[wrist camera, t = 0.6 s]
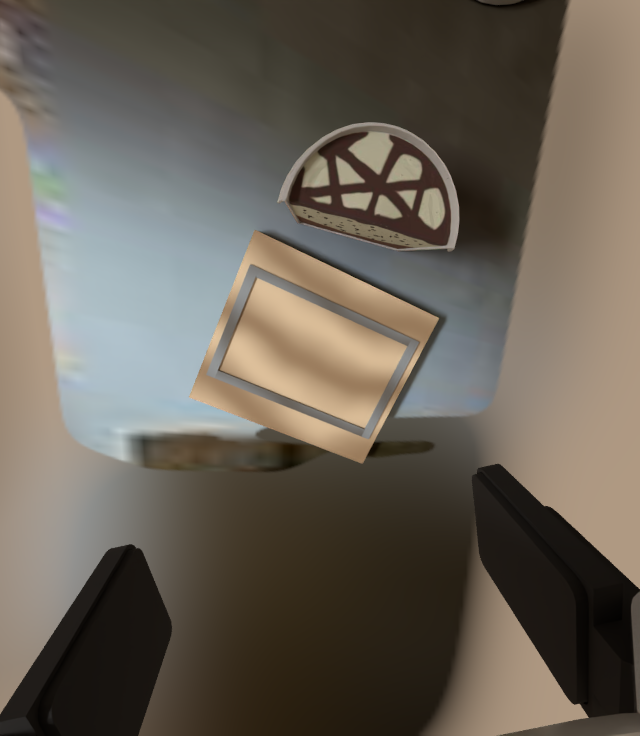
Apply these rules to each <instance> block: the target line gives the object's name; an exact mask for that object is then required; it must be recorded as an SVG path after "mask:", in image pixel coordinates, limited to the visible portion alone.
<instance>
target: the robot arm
mask: <svg viewBox="0 0 640 736" xmlns="http://www.w3.org/2000/svg"><path fill="white" fill-rule="evenodd" d="M478 1H480V2H482V3H488V4H493V5H506V4H514V3H517V2H520V1H523V0H478ZM472 486H473V496H474V505H475V516H476V526H477V536H478V547H479V554H480V558H481V561H482V563H483V565H484V567H485V569H486V570H487V572H488V573H489V575H490V576H491V578H492V580H493V581H494V583H495V584H496V586H497V587H498V589H499V591H500V592H501V594H502V595H503V597H504V598H505V600H506V602H507V603H508V605H509V606H510V608H511V610H512V611H513V613H514V614H515V616H516V618H517V619H518V621H519V622H520V624H521V625H522V627H523V629H524V630H525V632H526V633H527V635H528V636H529V638H530V640H531V641H532V643H533V644H534V646H535V647H536V649H537V651H538V652H539V654H540V655H541V657H542V659H543V660H544V662H545V663H546V665H547V666H548V668H549V670H550V671H551V673H552V674H553V676H554V677H555V679H556V681H557V682H558V684H559V685H560V687H561V688H562V690H563V692H564V693H565V695H566V696H567V698H568V699H569V700H570V701H571V702H572V703H573V704H574V705H575V704H580V705H581V706H582V708H583V709H584V711H585V712H586V714H587V715H588V717H589V718H585V719H579V720H573V721H568V722H564V723H559V724H553V725H548V726H544V727H538V728H533V729H529V730H523V731H518V732H513V733H508V734H503V735H499V736H640V589H639V588H638V587H636V586H635V585H634V584H633V583H632V582H631V581H630V580H629V579H628V578H627V577H626V576H625V575H624V574H623V573H622V572H621V571H619V570H618V569H617V568H616V567H615V566H614V565H613V564H612V563H611V562H610V561H609V560H608V559H607V558H606V557H604V556H603V555H602V554H601V553H600V552H599V551H598V550H597V549H596V548H595V547H594V546H593V545H592V544H591V543H590V542H588V541H587V540H586V539H585V538H584V537H583V536H582V535H581V534H580V533H579V532H578V531H577V530H576V529H575V528H573V527H572V526H571V525H570V524H569V523H568V522H567V521H566V520H565V519H564V518H563V517H562V516H561V515H560V514H559V513H557V512H556V511H555V510H554V509H552V508H551V507H548V506H543V505H542V504H541V503H540V502H539V501H538V500H537V499H536V498H535V497H534V496H533V495H532V494H531V493H530V492H529V491H528V490H527V489H526V488H525V487H523V486H522V485H521V484H520V483H519V482H518V481H517V480H516V479H515V478H514V477H513V476H512V475H511V474H510V473H509V472H508V471H507V470H506V469H505V468H504V467H503V466H501V465H500V464H495V465H490V466H486V467H481V468H478V470H477V474H475V475H473V476H472ZM171 632H172V625H171V620H170V617H169V615H168V613H167V610H166V608H165V605H164V603H163V600H162V598H161V595H160V593H159V591H158V588H157V586H156V583H155V581H154V578H153V576H152V574H151V571H150V569H149V566H148V564H147V562H146V559H145V557H144V554H143V552H142V550H141V549H139V548H137V549H136V547H135V546H134V545H131V544H129V545H125V546H121V547H116V548H111V549H109V550H108V551H107V552H106V553H105V555H104V556H103V558H102V559H101V561H100V562H99V564H98V565H97V567H96V569H95V570H94V572H93V573H92V575H91V576H90V578H89V579H88V581H87V582H86V584H85V585H84V587H83V588H82V590H81V592H80V593H79V594H78V596H77V598H76V599H75V601H74V602H73V604H72V605H71V607H70V608H69V610H68V611H67V613H66V614H65V616H64V617H63V619H62V621H61V622H60V624H59V625H58V627H57V628H56V630H55V631H54V633H53V634H52V636H51V637H50V639H49V640H48V642H47V644H46V645H45V646H44V649H43V650H42V651H41V653H40V655H39V656H38V657H37V659H36V660H35V662H34V663H33V665H32V666H31V668H30V669H29V671H28V673H27V674H26V676H25V677H24V679H23V680H22V682H21V683H20V685H19V686H18V688H17V689H16V691H15V693H14V694H13V696H12V697H11V699H10V700H9V702H8V703H7V705H6V706H5V708H4V709H3V711H2V712H1V714H0V736H138V734H139V731H140V728H141V725H142V722H143V719H144V716H145V713H146V710H147V707H148V704H149V701H150V698H151V695H152V692H153V689H154V686H155V683H156V680H157V677H158V674H159V671H160V668H161V665H162V662H163V659H164V656H165V653H166V649H167V646H168V644H169V641H170V637H171Z"/></svg>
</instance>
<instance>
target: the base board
mask: <svg viewBox="0 0 640 736" xmlns="http://www.w3.org/2000/svg"><path fill="white" fill-rule="evenodd" d="M438 320H439V318H438V317H436V316H434V315H431V314H429V313H427V312H425V311H423V310H421V309H419V308H417V307H415V306H413V305H411V304H409V303H406V302H404V301H402V300H400V299H398V298H396V297H394V296H392V295H390V294H388V293H386V292H384V291H381V290H379V289H377V288H375V287H373V286H371V285H369V284H367V283H365V282H363V281H361V280H358V279H356V278H354V277H352V276H350V275H348V274H346V273H344V272H342V271H340V270H338V269H336V268H333V267H331V266H329V265H327V264H325V263H323V262H321V261H319V260H317V259H315V258H313V257H311V256H308V255H306V254H304V253H302V252H300V251H298V250H296V249H294V248H292V247H290V246H288V245H286V244H283V243H281V242H279V241H277V240H275V239H273V238H271V237H269V236H267V235H265V234H263V233H260V232H258V231H256V230H255V231H254V233H253V236H252V238H251V241H250V243H249V246H248V248H247V251H246V253H245V256H244V259H243V261H242V264H241V266H240V269H239V271H238V274H237V276H236V279H235V281H234V284H233V287H232V289H231V292H230V294H229V297H228V299H227V302H226V304H225V307H224V309H223V312H222V314H221V317H220V320H219V322H218V325H217V327H216V330H215V332H214V335H213V337H212V340H211V342H210V345H209V348H208V350H207V353H206V355H205V358H204V360H203V363H202V365H201V368H200V370H199V373H198V376H197V378H196V381H195V383H194V386H193V388H192V391H191V393H190V396H189V397H190V398H192V399H195V400H198V401H200V402H203V403H205V404H208V405H211V406H213V407H216V408H218V409H221V410H224V411H226V412H229V413H231V414H234V415H237V416H239V417H242V418H244V419H247V420H250V421H252V422H255V423H258V424H260V425H263V426H265V427H268V428H271V429H273V430H276V431H279V432H281V433H284V434H286V435H289V436H292V437H294V438H297V439H299V440H302V441H304V442H307V443H310V444H312V445H315V446H318V447H320V448H323V449H325V450H328V451H331V452H333V453H336V454H338V455H341V456H344V457H347V458H349V459H352V460H354V461H357V462H360V463H363V462H364V460H365V458H366V456H367V454H368V452H369V450H370V448H371V446H372V445H373V443H374V441H375V439H376V437H377V435H378V433H379V431H380V429H381V428H382V425H383V424H384V422H385V420H386V418H387V416H388V414H389V412H390V410H391V409H392V407H393V405H394V403H395V401H396V399H397V397H398V395H399V393H400V392H401V390H402V388H403V386H404V384H405V382H406V380H407V378H408V376H409V375H410V373H411V371H412V369H413V367H414V365H415V363H416V361H417V359H418V357H419V356H420V354H421V352H422V350H423V348H424V346H425V344H426V342H427V340H428V339H429V337H430V335H431V333H432V331H433V329H434V327H435V325H436V323H437V322H438Z"/></svg>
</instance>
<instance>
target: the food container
mask: <svg viewBox="0 0 640 736" xmlns="http://www.w3.org/2000/svg"><path fill="white" fill-rule="evenodd" d="M283 201H284V202H285V203H286V205H287V206H288V208H289V210H290V211H291V213H292V215H293V216H294V218H295V220H296V221H297V223H299V224H302V225H306V226H310V227H313V228H317V229H320V230H324V231H328V232H331V233H335V234H338V235H342V236H346V237H349V238H353V239H356V240H360V241H364V242H367V243H371V244H374V245H378V246H381V247H385V248H389V249H392V250H396V251H411V250H432V249H447V251H449V252H450V251H452V250H454V248H455V244H456V240H457V236H458V228H459V204H458V199H457V193H456V189H455V186H454V184H453V181H452V178H451V175H450V174H449V172H448V170H447V168H446V166H445V164H444V163H443V161H442V160H441V159H440V157H439V156H438V155H437V153H436V152H435V151H434V150H433V149H432V148H431V147H430V146H429V145H428V144H426V143H425V142H424V141H423V140H422V139H420V138H419V137H417V136H416V135H414V134H413V133H411V132H409V131H407V130H404V129H402V128H400V127H397V126H393V125H389V124H385V123H371V122H366V123H359V124H352V125H349V126H346V127H343V128H340V129H337V130H335V131H333V132H331V133H330V134H328V135H326V136H324V137H323V138H321V139H320V140H319V141H317V142H316V143H315V144H314V145H312V146H311V147H310V148H308V149H307V150H306V151H305V152H304V154H303V155H302V156H301V157H300V158H299V159H298V160H297V161H296V163H295V164H294V166H293V167H292V169H291V170H290V172H289V173H288V175H287V177H286V180H285V182H284V184H283V186H282V188H281V191H280V195H279V198H278V202H277V203H281V202H283Z"/></svg>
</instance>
